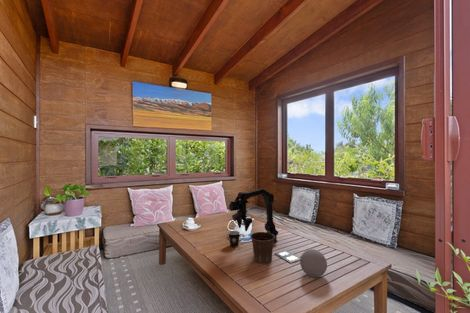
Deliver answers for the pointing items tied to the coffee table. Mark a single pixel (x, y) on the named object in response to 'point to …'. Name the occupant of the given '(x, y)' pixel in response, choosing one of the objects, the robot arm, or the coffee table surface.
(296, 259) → the panel
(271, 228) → the robot arm
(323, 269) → the decorative ball
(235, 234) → the coffee mug
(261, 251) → the plant pot
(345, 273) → the coffee table surface
